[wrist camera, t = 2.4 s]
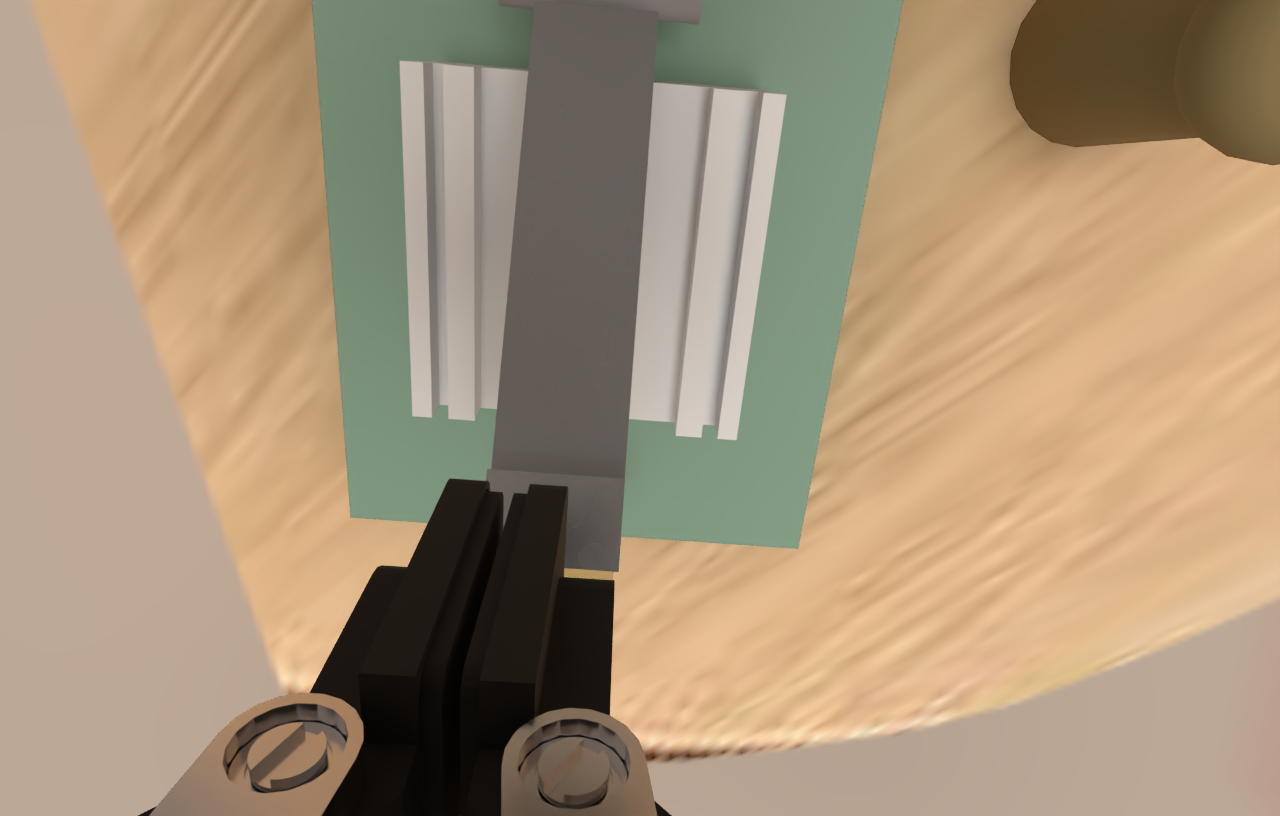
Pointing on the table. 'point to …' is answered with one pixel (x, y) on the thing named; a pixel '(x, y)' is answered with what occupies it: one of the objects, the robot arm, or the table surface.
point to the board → (789, 278)
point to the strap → (577, 269)
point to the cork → (1152, 73)
